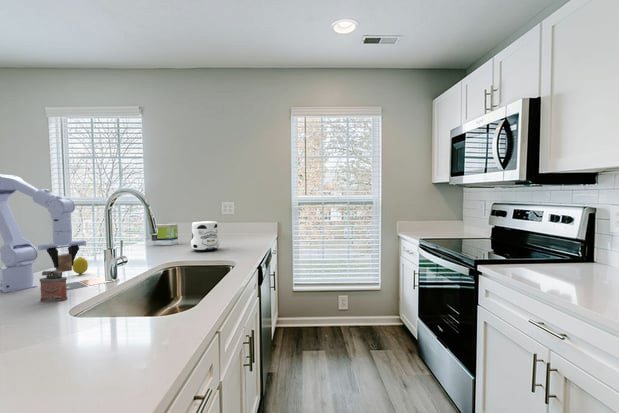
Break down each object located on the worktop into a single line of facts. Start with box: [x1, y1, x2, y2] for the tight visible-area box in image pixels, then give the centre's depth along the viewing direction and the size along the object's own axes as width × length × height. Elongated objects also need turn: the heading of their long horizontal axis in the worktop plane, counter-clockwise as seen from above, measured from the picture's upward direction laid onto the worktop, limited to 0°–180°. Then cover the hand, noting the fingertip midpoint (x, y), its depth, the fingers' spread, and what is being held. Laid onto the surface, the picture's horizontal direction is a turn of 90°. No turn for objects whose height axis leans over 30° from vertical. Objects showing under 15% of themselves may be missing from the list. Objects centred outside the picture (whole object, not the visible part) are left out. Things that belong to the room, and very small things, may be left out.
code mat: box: [39, 281, 89, 291], centre depth 123 cm, size 12×12×1 cm
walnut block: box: [55, 253, 73, 273], centre depth 122 cm, size 4×4×6 cm
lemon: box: [72, 256, 89, 275], centre depth 143 cm, size 6×6×8 cm
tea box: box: [151, 223, 179, 246], centre depth 235 cm, size 15×10×15 cm, turn 84°
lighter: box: [39, 269, 69, 303], centre depth 107 cm, size 8×3×10 cm, turn 92°
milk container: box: [190, 220, 220, 252], centre depth 206 cm, size 17×17×18 cm
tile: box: [79, 276, 116, 287], centre depth 131 cm, size 9×11×1 cm
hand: (63, 266), depth 122 cm, fingers closed on walnut block, 4 cm apart
